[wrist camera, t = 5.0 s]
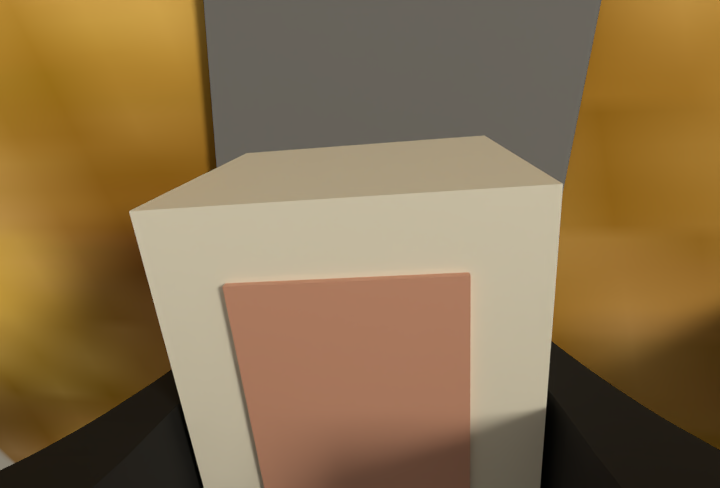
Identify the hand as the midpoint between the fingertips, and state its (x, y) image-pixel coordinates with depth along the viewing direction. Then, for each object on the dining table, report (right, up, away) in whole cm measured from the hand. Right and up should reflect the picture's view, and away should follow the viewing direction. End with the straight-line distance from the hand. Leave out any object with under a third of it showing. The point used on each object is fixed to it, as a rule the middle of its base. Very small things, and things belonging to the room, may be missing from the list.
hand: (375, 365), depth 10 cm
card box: (0, +1, +1) cm, 1 cm away
